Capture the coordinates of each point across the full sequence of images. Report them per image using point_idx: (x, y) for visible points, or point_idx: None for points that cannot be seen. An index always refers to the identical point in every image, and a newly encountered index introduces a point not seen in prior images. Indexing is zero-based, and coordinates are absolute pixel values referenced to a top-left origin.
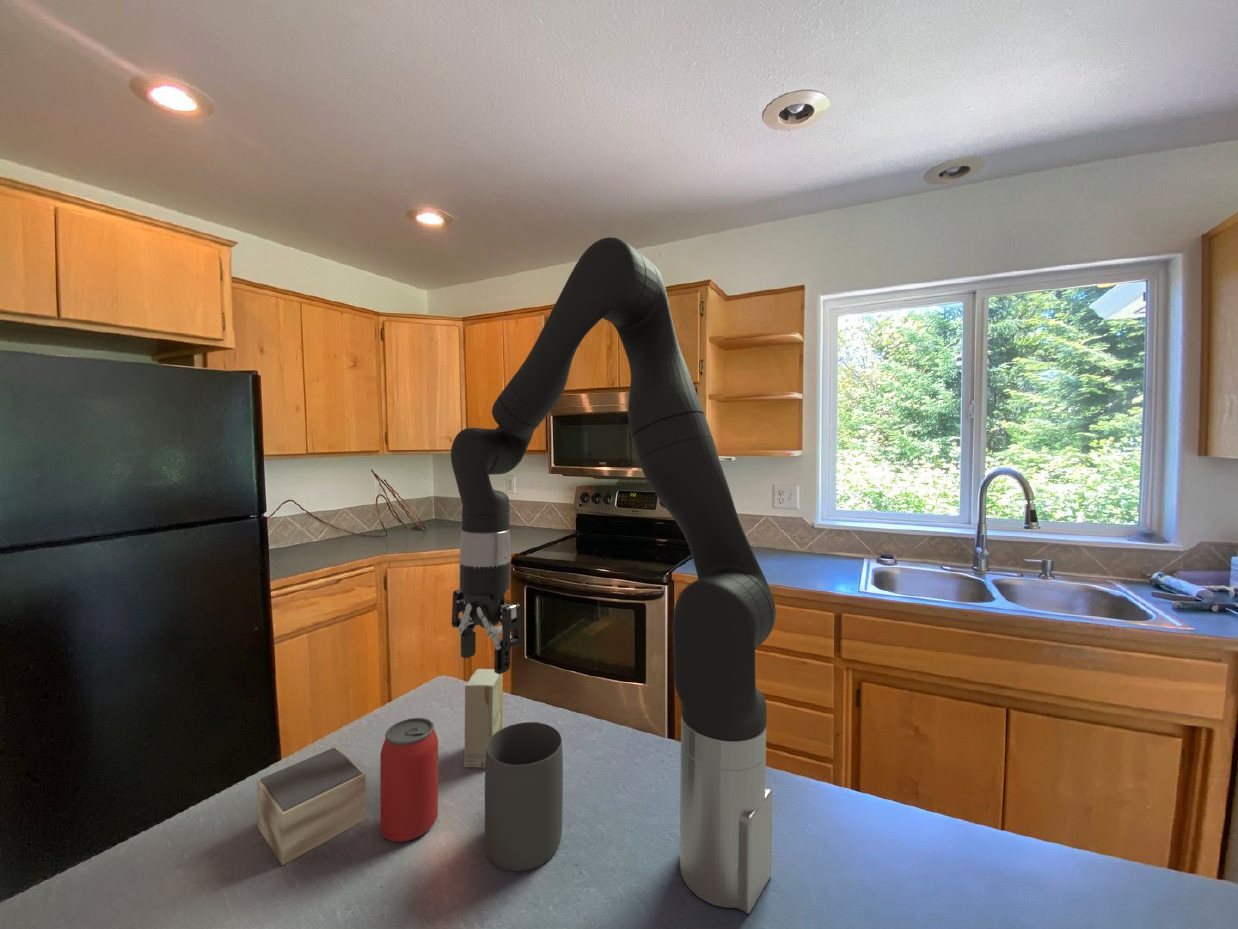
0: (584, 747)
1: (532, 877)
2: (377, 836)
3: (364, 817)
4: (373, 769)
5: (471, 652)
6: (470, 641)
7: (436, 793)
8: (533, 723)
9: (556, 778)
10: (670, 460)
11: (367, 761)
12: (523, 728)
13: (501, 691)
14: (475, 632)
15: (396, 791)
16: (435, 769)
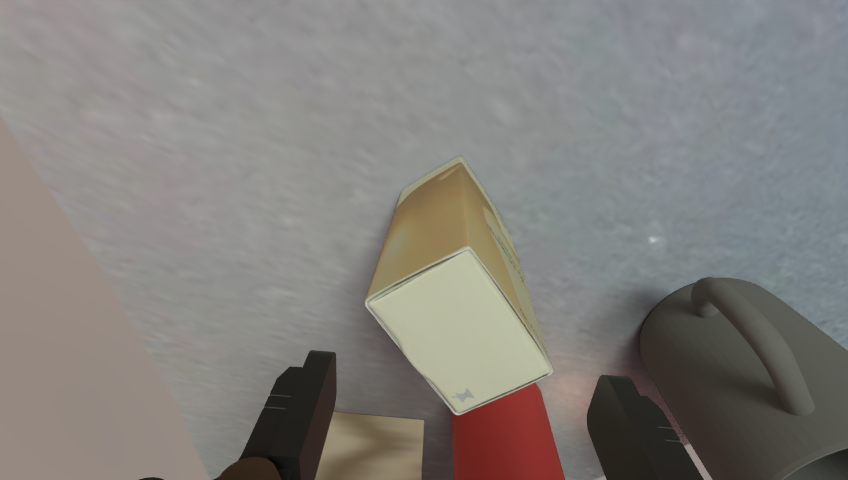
0: (694, 14)
1: None
2: None
3: (423, 424)
4: (302, 356)
5: (332, 380)
6: (316, 440)
7: (545, 420)
8: (846, 447)
9: None
10: None
11: (266, 350)
12: (800, 447)
13: (480, 230)
14: (300, 457)
15: None
16: (558, 467)
